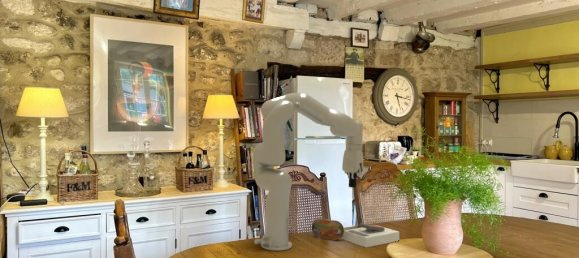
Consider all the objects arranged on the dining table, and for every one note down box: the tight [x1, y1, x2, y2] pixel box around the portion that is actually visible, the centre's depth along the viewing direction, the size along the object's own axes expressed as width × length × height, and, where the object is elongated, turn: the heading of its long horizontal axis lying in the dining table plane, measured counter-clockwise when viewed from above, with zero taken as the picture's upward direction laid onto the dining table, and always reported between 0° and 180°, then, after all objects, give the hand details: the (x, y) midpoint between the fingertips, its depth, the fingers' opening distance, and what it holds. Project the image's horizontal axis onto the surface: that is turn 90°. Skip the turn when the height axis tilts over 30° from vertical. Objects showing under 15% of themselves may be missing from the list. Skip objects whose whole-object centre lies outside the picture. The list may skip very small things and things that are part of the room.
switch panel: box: [343, 224, 400, 248], centre depth 188 cm, size 20×14×5 cm
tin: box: [311, 218, 345, 241], centre depth 190 cm, size 15×3×8 cm, turn 57°
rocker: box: [358, 223, 386, 231], centre depth 188 cm, size 10×6×1 cm, turn 124°
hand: (352, 187), depth 200 cm, fingers closed
